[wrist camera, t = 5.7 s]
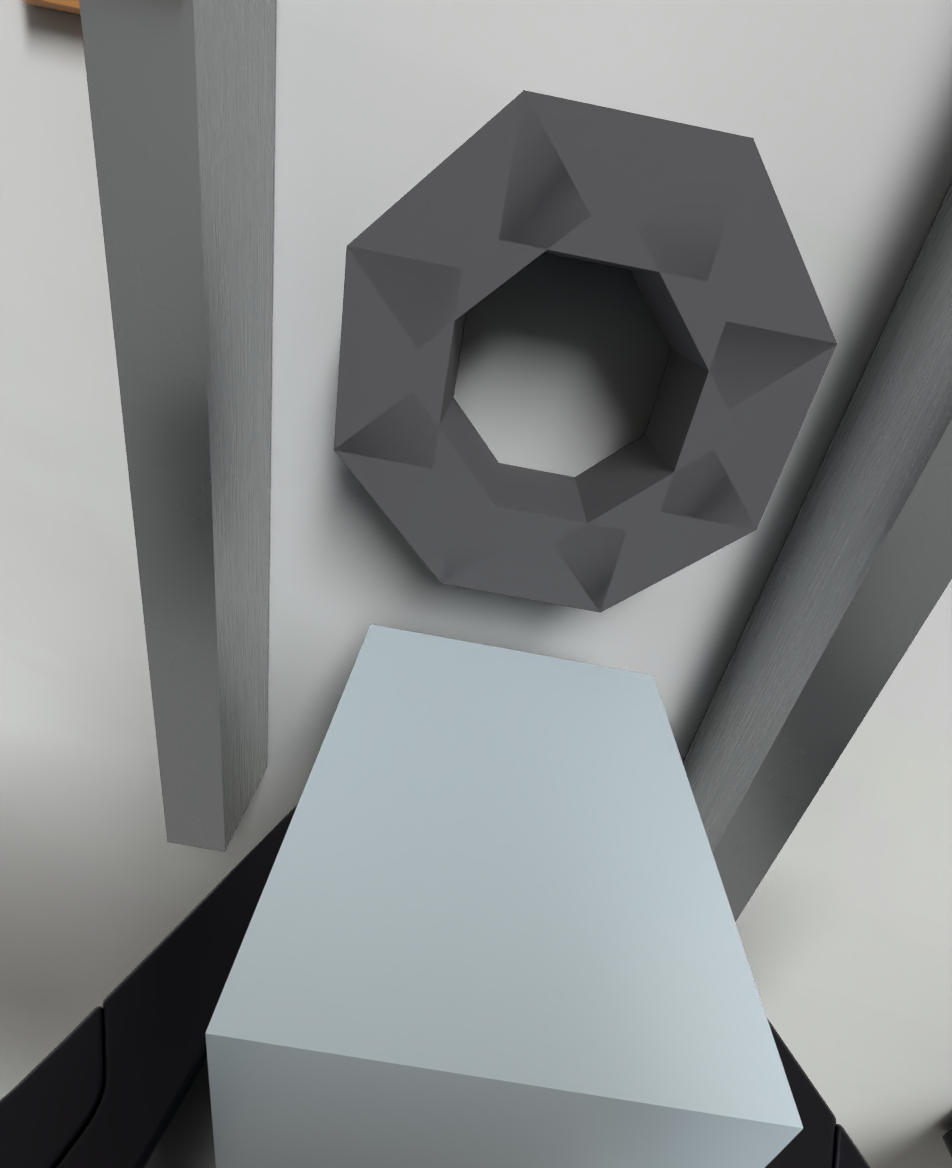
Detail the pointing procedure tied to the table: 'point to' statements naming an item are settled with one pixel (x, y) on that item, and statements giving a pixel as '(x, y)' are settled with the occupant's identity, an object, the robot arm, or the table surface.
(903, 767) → the table surface
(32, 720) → the table surface
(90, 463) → the table surface
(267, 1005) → the pale blue cuboid
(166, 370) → the channel
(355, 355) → the ring
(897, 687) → the table surface
